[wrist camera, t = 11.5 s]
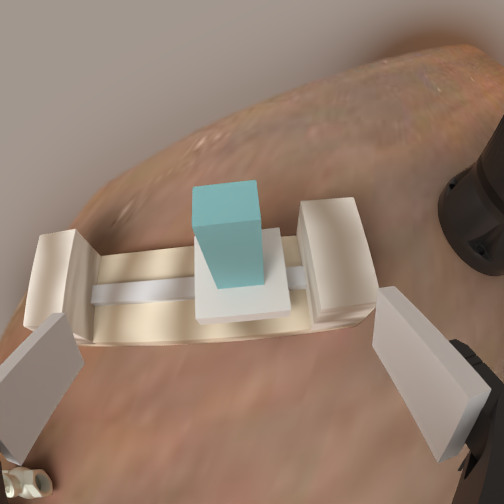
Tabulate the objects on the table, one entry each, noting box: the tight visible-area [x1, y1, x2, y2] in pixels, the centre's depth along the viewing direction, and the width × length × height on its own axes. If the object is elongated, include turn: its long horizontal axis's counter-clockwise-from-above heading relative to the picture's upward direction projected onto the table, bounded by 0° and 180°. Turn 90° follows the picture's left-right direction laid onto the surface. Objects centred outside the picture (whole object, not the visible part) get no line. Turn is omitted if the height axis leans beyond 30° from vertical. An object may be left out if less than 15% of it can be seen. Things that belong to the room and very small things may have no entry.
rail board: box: [23, 197, 379, 346], centre depth 29 cm, size 32×10×8 cm, turn 95°
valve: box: [2, 467, 53, 499], centre depth 17 cm, size 7×7×12 cm
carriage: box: [192, 180, 291, 325], centre depth 24 cm, size 8×8×13 cm
